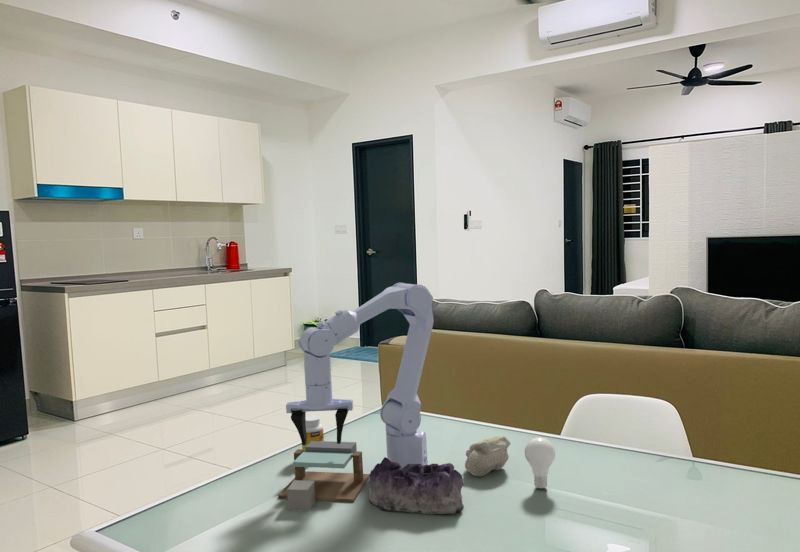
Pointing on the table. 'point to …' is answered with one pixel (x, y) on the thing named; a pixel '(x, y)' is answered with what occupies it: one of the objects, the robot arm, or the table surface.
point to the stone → (301, 495)
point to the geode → (416, 488)
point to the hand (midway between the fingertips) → (321, 442)
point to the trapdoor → (326, 454)
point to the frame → (333, 481)
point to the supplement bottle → (313, 430)
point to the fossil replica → (487, 456)
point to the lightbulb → (540, 459)
